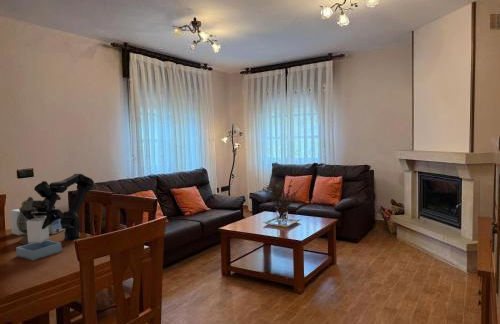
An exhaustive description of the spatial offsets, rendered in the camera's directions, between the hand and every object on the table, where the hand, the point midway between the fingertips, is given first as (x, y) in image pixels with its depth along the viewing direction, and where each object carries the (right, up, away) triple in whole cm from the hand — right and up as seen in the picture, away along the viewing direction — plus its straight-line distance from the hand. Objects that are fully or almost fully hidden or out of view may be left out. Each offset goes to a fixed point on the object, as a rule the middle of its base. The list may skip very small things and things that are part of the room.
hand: (36, 229), depth 162 cm
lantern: (-20, -12, +28) cm, 36 cm away
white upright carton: (0, -6, +2) cm, 7 cm away
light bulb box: (-17, -11, +44) cm, 49 cm away
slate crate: (0, -13, +2) cm, 13 cm away
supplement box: (-36, -12, +44) cm, 58 cm away
